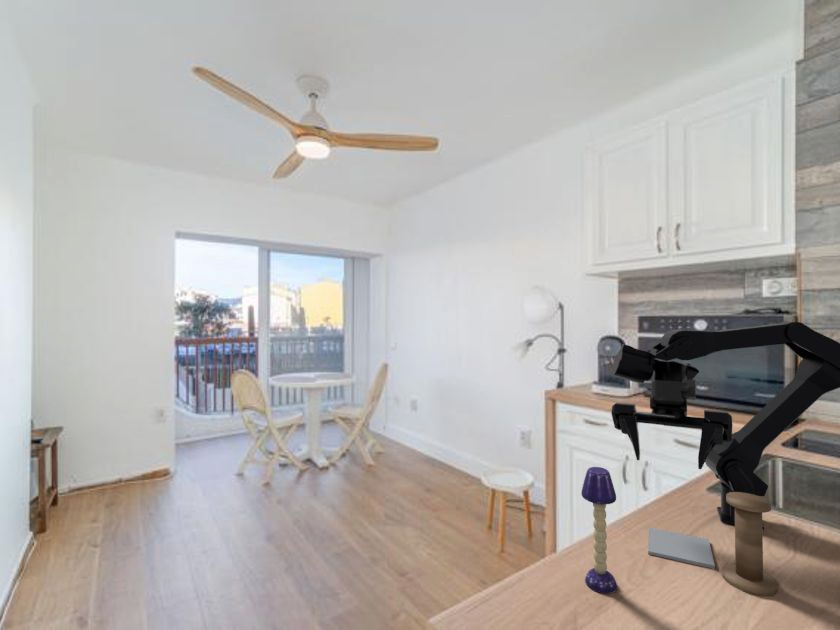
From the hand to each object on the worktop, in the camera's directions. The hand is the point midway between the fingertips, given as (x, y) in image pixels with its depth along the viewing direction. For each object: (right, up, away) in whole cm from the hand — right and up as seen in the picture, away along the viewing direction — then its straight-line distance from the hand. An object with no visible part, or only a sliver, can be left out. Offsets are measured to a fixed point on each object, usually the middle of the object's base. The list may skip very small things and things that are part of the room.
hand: (667, 463), depth 74 cm
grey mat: (+1, -13, -2) cm, 14 cm away
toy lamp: (-17, -14, -12) cm, 25 cm away
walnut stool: (+5, -13, -11) cm, 18 cm away
